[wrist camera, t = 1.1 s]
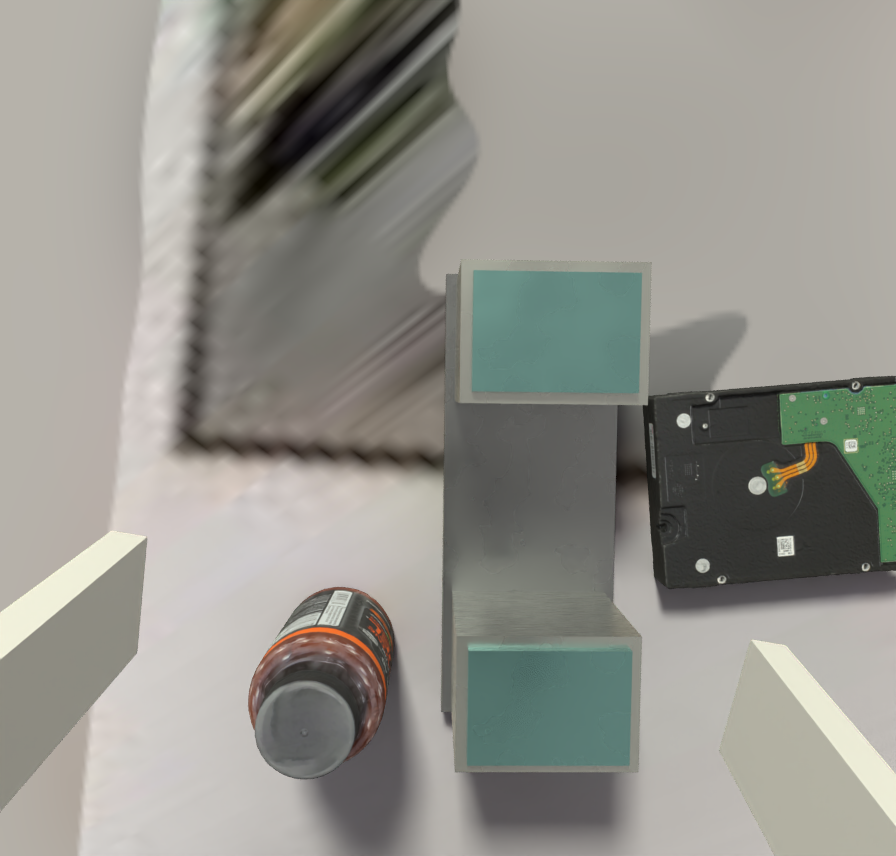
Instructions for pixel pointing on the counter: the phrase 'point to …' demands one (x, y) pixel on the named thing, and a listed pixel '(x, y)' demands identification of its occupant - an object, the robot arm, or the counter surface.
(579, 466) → the rail
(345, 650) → the supplement bottle
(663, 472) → the disk drive
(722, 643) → the counter surface
